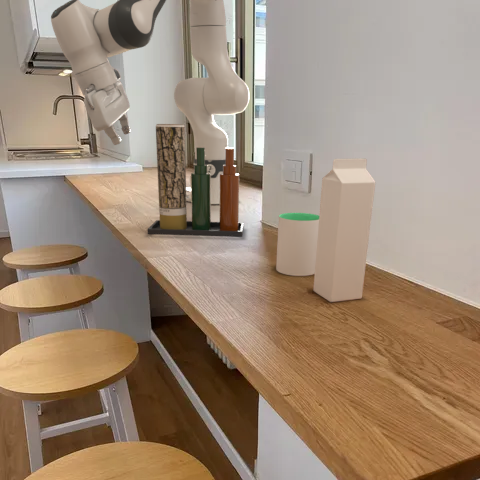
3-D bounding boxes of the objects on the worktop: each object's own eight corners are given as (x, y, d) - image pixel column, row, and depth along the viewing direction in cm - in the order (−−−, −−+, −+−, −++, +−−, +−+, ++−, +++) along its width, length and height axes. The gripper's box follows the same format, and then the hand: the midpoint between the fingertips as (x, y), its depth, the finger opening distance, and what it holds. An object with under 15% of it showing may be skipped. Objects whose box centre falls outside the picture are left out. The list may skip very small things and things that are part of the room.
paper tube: (175, 233, 122) (172, 124, 112) (154, 230, 125) (149, 123, 115) (192, 229, 127) (190, 124, 117) (171, 225, 130) (168, 123, 121)
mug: (323, 261, 103) (327, 211, 99) (342, 272, 96) (348, 218, 92) (269, 265, 99) (272, 213, 95) (286, 277, 92) (289, 221, 88)
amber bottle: (220, 229, 128) (220, 147, 120) (238, 229, 128) (240, 147, 120) (218, 233, 123) (219, 148, 116) (237, 233, 123) (239, 149, 116)
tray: (156, 227, 132) (156, 220, 131) (243, 229, 131) (243, 222, 130) (147, 236, 121) (147, 229, 120) (242, 239, 121) (242, 231, 120)
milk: (312, 291, 85) (322, 157, 77) (343, 288, 87) (355, 156, 79) (331, 303, 80) (343, 160, 72) (362, 298, 82) (378, 159, 74)
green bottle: (193, 228, 128) (191, 146, 120) (211, 228, 128) (211, 147, 120) (190, 232, 124) (189, 147, 116) (209, 232, 124) (209, 148, 116)
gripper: (95, 84, 108) (123, 146, 115) (120, 69, 124) (143, 124, 132) (70, 94, 109) (99, 154, 116) (98, 78, 126) (122, 131, 133)
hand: (123, 138), depth 124 cm, fingers open, 8 cm apart
